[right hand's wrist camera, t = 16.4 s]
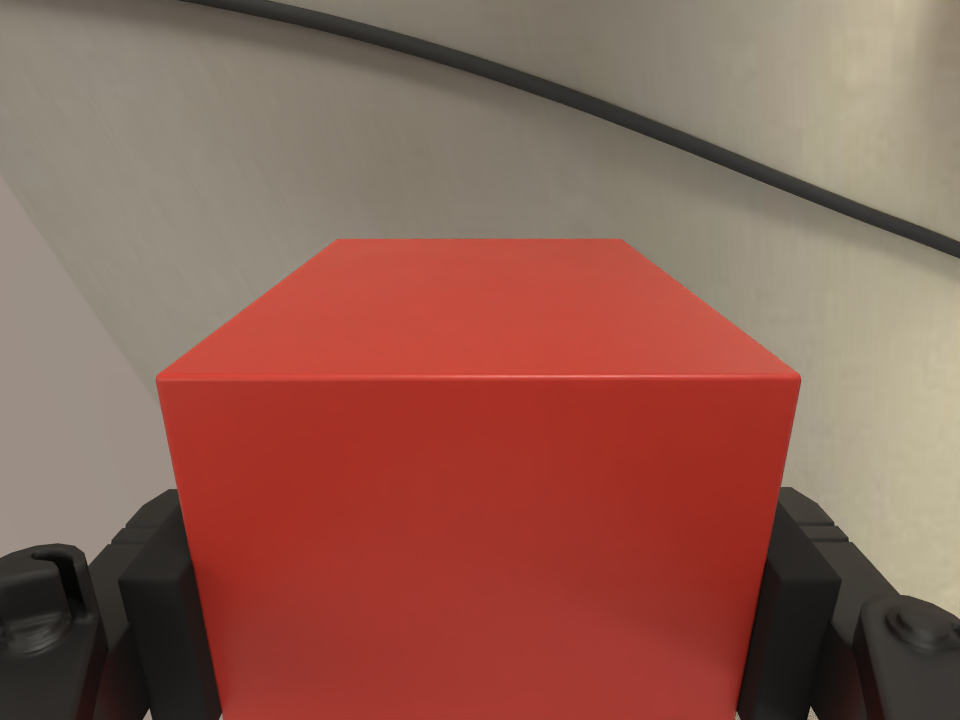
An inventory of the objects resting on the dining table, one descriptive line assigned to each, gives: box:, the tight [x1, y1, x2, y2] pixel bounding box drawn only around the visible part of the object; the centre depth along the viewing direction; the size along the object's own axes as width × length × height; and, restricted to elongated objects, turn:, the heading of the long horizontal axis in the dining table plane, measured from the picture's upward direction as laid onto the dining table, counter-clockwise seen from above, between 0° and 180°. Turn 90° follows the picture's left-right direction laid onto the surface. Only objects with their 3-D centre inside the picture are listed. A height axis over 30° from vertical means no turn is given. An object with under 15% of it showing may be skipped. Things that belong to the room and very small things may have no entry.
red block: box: [156, 239, 801, 720], centre depth 13 cm, size 8×8×10 cm
